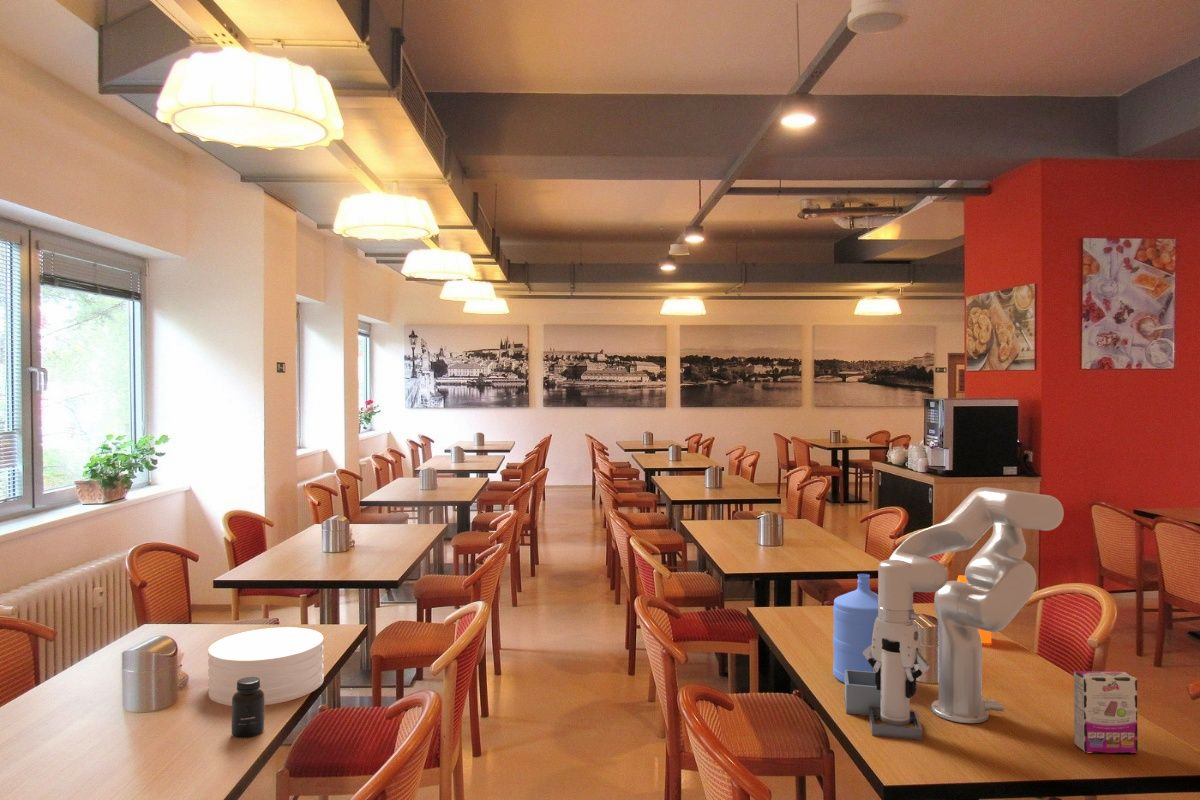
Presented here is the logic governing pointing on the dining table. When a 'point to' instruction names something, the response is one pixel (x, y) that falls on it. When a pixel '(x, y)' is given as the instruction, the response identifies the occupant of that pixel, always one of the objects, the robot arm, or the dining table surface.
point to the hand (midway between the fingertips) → (895, 691)
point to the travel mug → (893, 686)
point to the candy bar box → (1105, 711)
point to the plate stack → (267, 663)
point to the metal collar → (892, 730)
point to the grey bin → (861, 692)
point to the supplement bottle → (248, 708)
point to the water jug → (854, 628)
